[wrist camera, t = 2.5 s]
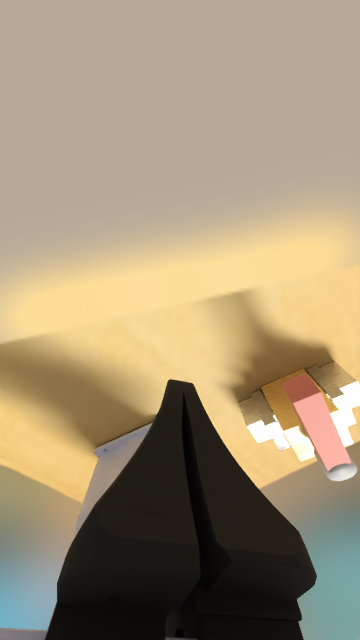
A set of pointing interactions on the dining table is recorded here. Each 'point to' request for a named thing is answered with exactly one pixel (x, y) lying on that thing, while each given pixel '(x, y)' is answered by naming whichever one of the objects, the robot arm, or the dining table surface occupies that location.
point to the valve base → (279, 416)
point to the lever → (319, 427)
